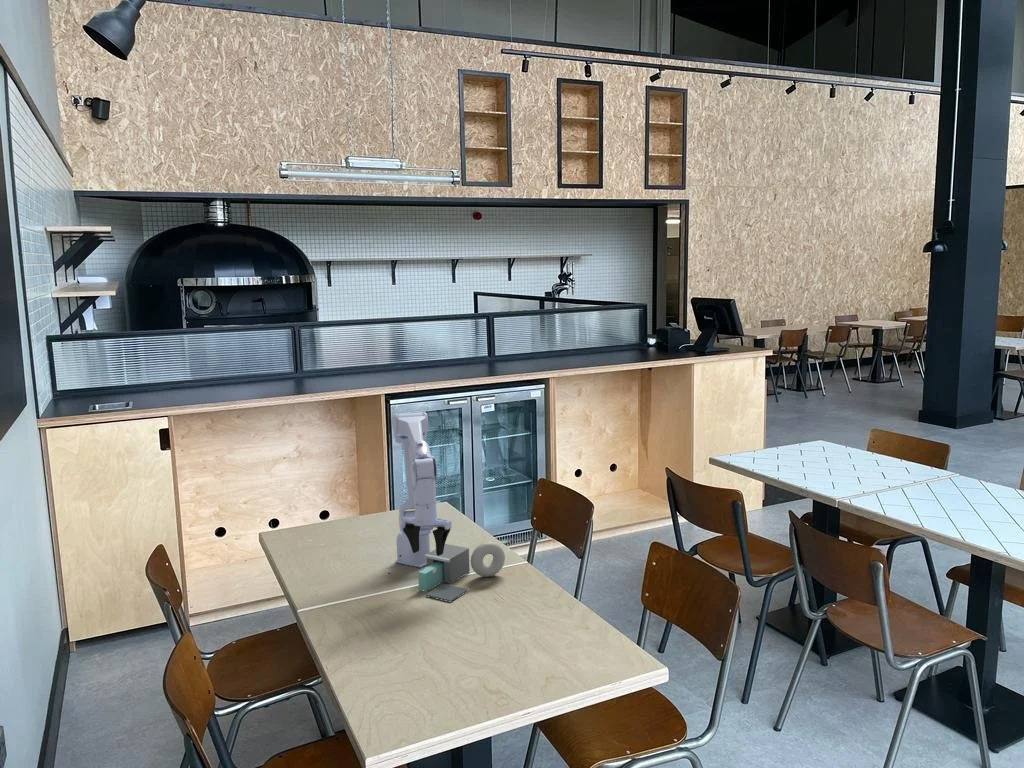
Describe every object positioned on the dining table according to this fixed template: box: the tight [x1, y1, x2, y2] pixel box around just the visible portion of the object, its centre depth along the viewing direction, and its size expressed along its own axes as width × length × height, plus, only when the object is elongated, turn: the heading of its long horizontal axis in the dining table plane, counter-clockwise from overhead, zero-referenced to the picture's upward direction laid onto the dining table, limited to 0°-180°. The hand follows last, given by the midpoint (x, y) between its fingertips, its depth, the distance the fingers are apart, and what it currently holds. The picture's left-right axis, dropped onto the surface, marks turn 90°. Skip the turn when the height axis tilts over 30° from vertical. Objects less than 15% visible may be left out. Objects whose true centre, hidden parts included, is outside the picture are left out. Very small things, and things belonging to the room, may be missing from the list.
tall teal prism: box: [417, 561, 444, 592], centre depth 208 cm, size 2×11×5 cm, turn 150°
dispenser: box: [425, 543, 471, 584], centre depth 213 cm, size 8×10×7 cm
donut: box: [470, 541, 506, 578], centre depth 212 cm, size 10×4×10 cm, turn 112°
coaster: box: [425, 583, 469, 602], centre depth 202 cm, size 8×8×1 cm
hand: (427, 553), depth 204 cm, fingers open, 7 cm apart
